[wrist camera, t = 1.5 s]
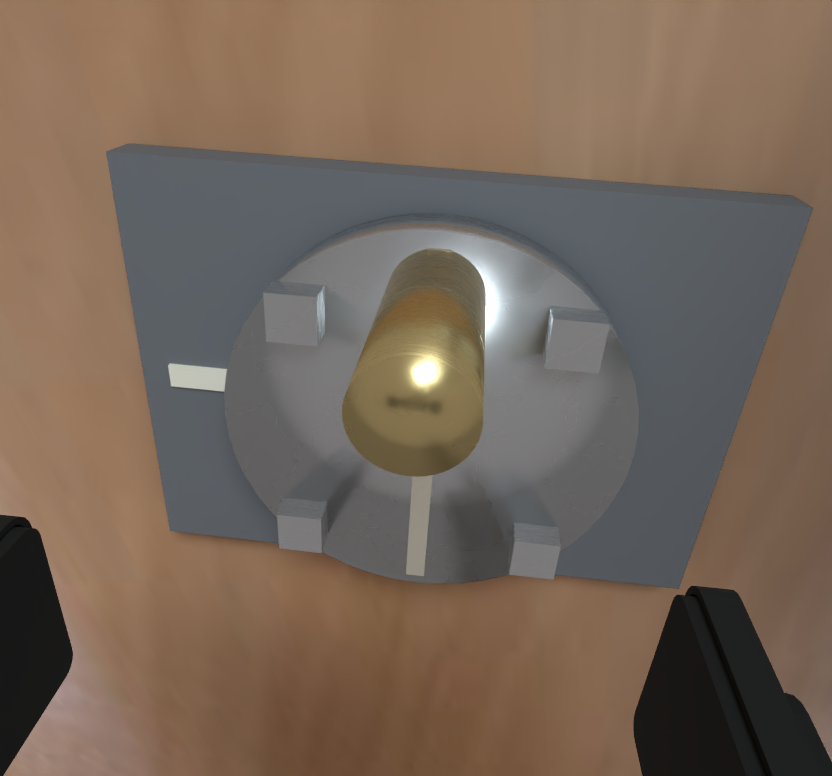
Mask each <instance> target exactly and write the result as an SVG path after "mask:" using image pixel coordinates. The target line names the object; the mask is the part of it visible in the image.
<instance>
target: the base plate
mask: <svg viewBox="0 0 832 776" xmlns="http://www.w3.org/2000/svg"><path fill="white" fill-rule="evenodd" d="M106 154H107V160H108V165H109V171H110V177H111V183H112V189H113V195H114V201H115V207H116V213H117V219H118V225H119V231H120V237H121V242H122V248H123V254H124V260H125V266H126V272H127V278H128V284H129V290H130V296H131V302H132V308H133V314H134V319H135V325H136V331H137V337H138V343H139V349H140V355H141V361H142V367H143V373H144V379H145V385H146V390H147V396H148V402H149V408H150V414H151V420H152V426H153V432H154V438H155V444H156V450H157V456H158V462H159V467H160V473H161V479H162V485H163V491H164V497H165V503H166V509H167V515H168V521H169V527H170V531H176V532H184V533H193V534H202V535H211V536H220V537H228V538H237V539H246V540H255V541H263V542H272V543H279V539H278V523H277V517H276V516H275V515H274V514H273V513H272V512H271V511H270V510H269V509H268V507H267V506H266V505H265V504H264V503H263V501H262V500H261V499H260V498H259V497H258V495H257V494H256V492H255V491H254V489H253V488H252V486H251V485H250V483H249V481H248V480H247V478H246V477H245V475H244V473H243V471H242V469H241V467H240V464H239V462H238V460H237V458H236V456H235V453H234V450H233V447H232V444H231V441H230V438H229V434H228V428H227V423H226V417H225V400H224V389H225V381H226V373H227V367H228V363H229V360H230V356H231V353H232V349H233V346H234V344H235V341H236V339H237V337H238V335H239V333H240V331H241V329H242V327H243V324H244V323H245V321H246V320H247V318H248V317H249V315H250V314H251V312H252V311H253V309H254V308H255V307H256V305H257V304H258V302H259V301H260V300H261V298H262V297H263V292H264V291H265V290H266V288H267V287H268V286H269V285H270V284H271V282H272V281H276V280H277V279H278V278H279V277H280V276H281V275H282V274H283V272H284V271H285V270H286V269H287V268H288V267H289V266H290V265H291V264H292V263H293V262H294V261H295V260H297V259H298V258H299V257H300V256H302V255H303V254H304V253H305V252H307V251H308V250H309V249H310V248H312V247H313V246H315V245H316V244H318V243H320V242H322V241H323V240H325V239H327V238H329V237H330V236H332V235H334V234H335V233H338V232H340V231H343V230H345V229H348V228H350V227H353V226H355V225H357V224H360V223H363V222H367V221H371V220H375V219H379V218H383V217H387V216H394V215H403V214H412V213H446V214H452V215H459V216H466V217H472V218H477V219H480V220H484V221H487V222H491V223H494V224H498V225H501V226H504V227H506V228H508V229H511V230H513V231H515V232H518V233H520V234H522V235H524V236H527V237H529V238H531V239H532V240H534V241H536V242H537V243H539V244H540V245H542V246H544V247H545V248H547V249H549V250H550V251H552V252H553V253H555V254H556V255H557V256H558V257H560V258H561V259H562V260H563V261H564V262H566V263H567V264H568V265H569V266H571V267H572V268H573V269H574V270H575V271H576V272H577V273H578V274H579V275H580V276H581V277H582V278H583V280H584V281H585V282H586V283H587V284H588V285H589V286H590V287H591V288H592V289H593V291H594V292H595V294H596V295H597V297H598V298H599V300H600V301H601V303H602V304H603V305H604V307H605V308H606V310H607V312H608V314H609V316H610V318H611V320H612V322H613V324H614V326H615V328H616V330H617V332H618V335H619V338H620V340H621V343H622V345H623V348H624V350H625V353H626V355H627V358H628V361H629V364H630V367H631V371H632V374H633V377H634V380H635V384H636V391H637V398H638V405H639V426H638V437H637V442H636V448H635V453H634V457H633V460H632V463H631V465H630V468H629V471H628V474H627V477H626V479H625V481H624V482H623V484H622V486H621V488H620V490H619V492H618V494H617V496H616V497H615V499H614V500H613V501H612V503H611V504H610V506H609V507H608V508H607V510H606V511H605V512H604V514H603V515H602V516H601V517H600V518H599V519H598V520H597V521H596V522H595V523H594V524H593V526H592V527H591V528H590V529H589V530H588V531H587V532H585V533H584V534H583V535H582V536H580V537H579V538H578V539H577V540H575V541H574V542H573V543H572V544H570V545H569V546H568V547H566V548H564V549H563V550H561V551H560V552H559V557H558V561H557V566H556V571H555V575H562V576H571V577H580V578H588V579H597V580H606V581H615V582H623V583H632V584H641V585H650V586H659V587H667V588H676V589H679V586H680V583H681V581H682V578H683V575H684V572H685V569H686V566H687V564H688V561H689V558H690V555H691V552H692V549H693V547H694V544H695V541H696V538H697V535H698V532H699V530H700V527H701V524H702V521H703V518H704V515H705V513H706V510H707V507H708V504H709V501H710V498H711V496H712V493H713V490H714V487H715V484H716V481H717V479H718V476H719V473H720V470H721V467H722V464H723V462H724V459H725V456H726V453H727V450H728V447H729V445H730V442H731V439H732V436H733V433H734V430H735V428H736V425H737V422H738V419H739V416H740V413H741V411H742V408H743V405H744V402H745V399H746V396H747V394H748V391H749V388H750V385H751V382H752V379H753V377H754V374H755V371H756V368H757V365H758V362H759V360H760V357H761V354H762V351H763V348H764V345H765V343H766V340H767V337H768V334H769V331H770V328H771V326H772V323H773V320H774V317H775V314H776V311H777V309H778V306H779V303H780V300H781V297H782V294H783V292H784V289H785V286H786V283H787V280H788V277H789V275H790V272H791V269H792V266H793V263H794V260H795V258H796V255H797V252H798V249H799V246H800V243H801V241H802V238H803V235H804V232H805V229H806V226H807V224H808V221H809V218H810V215H811V212H812V209H813V208H812V207H811V206H809V205H808V204H806V203H804V202H803V201H801V200H799V199H798V198H796V197H794V196H788V195H775V194H763V193H750V192H737V191H725V190H712V189H699V188H687V187H674V186H661V185H648V184H636V183H623V182H610V181H598V180H585V179H572V178H560V177H547V176H534V175H522V174H509V173H496V172H483V171H471V170H458V169H445V168H433V167H420V166H407V165H395V164H382V163H369V162H357V161H344V160H331V159H318V158H306V157H293V156H280V155H268V154H255V153H242V152H230V151H217V150H204V149H192V148H179V147H166V146H153V145H141V144H126V145H123V146H120V147H117V148H115V149H112V150H109V151H106Z"/></svg>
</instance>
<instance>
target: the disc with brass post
mask: <svg viewBox="0 0 832 776" xmlns="http://www.w3.org/2000/svg"><path fill="white" fill-rule="evenodd" d="M224 400H225V417H226V423H227V428H228V434H229V438H230V441H231V444H232V447H233V450H234V453H235V456H236V458H237V460H238V462H239V464H240V467H241V469H242V471H243V473H244V475H245V477H246V478H247V480H248V481H249V483H250V485H251V486H252V488H253V489H254V491H255V492H256V494H257V495H258V497H259V498H260V499H261V500H262V501H263V503H264V504H265V505H266V506H267V507H268V509H269V510H270V511H271V512H272V513H273V514H274V515H275V516H276V517H277V523H278V539H279V548H280V549H289V550H298V551H306V552H315V553H322V552H323V553H325V554H327V555H329V556H331V557H333V558H335V559H337V560H339V561H341V562H343V563H345V564H347V565H350V566H353V567H355V568H358V569H361V570H364V571H366V572H369V573H373V574H377V575H380V576H384V577H388V578H392V579H398V580H404V581H410V582H419V583H434V584H448V583H466V582H474V581H482V580H487V579H492V578H496V577H500V576H505V575H508V574H509V575H516V576H525V577H534V578H543V579H551V580H554V575H555V571H556V566H557V561H558V557H559V552H560V551H561V550H563V549H564V548H566V547H568V546H569V545H570V544H572V543H573V542H574V541H575V540H577V539H578V538H579V537H580V536H582V535H583V534H584V533H585V532H587V531H588V530H589V529H590V528H591V527H592V526H593V524H594V523H595V522H596V521H597V520H598V519H599V518H600V517H601V516H602V515H603V514H604V512H605V511H606V510H607V508H608V507H609V506H610V504H611V503H612V501H613V500H614V499H615V497H616V496H617V494H618V492H619V490H620V488H621V486H622V484H623V482H624V481H625V479H626V477H627V474H628V471H629V468H630V465H631V463H632V460H633V457H634V453H635V448H636V442H637V437H638V426H639V405H638V398H637V391H636V384H635V380H634V377H633V374H632V371H631V367H630V364H629V361H628V358H627V355H626V353H625V350H624V348H623V345H622V343H621V340H620V338H619V335H618V332H617V330H616V328H615V326H614V324H613V322H612V320H611V318H610V316H609V314H608V312H607V310H606V308H605V307H604V305H603V304H602V303H601V301H600V300H599V298H598V297H597V295H596V294H595V292H594V291H593V289H592V288H591V287H590V286H589V285H588V284H587V283H586V282H585V281H584V280H583V278H582V277H581V276H580V275H579V274H578V273H577V272H576V271H575V270H574V269H573V268H572V267H571V266H569V265H568V264H567V263H566V262H564V261H563V260H562V259H561V258H560V257H558V256H557V255H556V254H555V253H553V252H552V251H550V250H549V249H547V248H545V247H544V246H542V245H540V244H539V243H537V242H536V241H534V240H532V239H531V238H529V237H527V236H524V235H522V234H520V233H518V232H515V231H513V230H511V229H508V228H506V227H504V226H501V225H498V224H494V223H491V222H487V221H484V220H480V219H477V218H472V217H466V216H459V215H452V214H446V213H412V214H403V215H394V216H387V217H383V218H379V219H375V220H371V221H367V222H363V223H360V224H357V225H355V226H353V227H350V228H348V229H345V230H343V231H340V232H338V233H335V234H334V235H332V236H330V237H329V238H327V239H325V240H323V241H322V242H320V243H318V244H316V245H315V246H313V247H312V248H310V249H309V250H308V251H307V252H305V253H304V254H303V255H302V256H300V257H299V258H298V259H297V260H295V261H294V262H293V263H292V264H291V265H290V266H289V267H288V268H287V269H286V270H285V271H284V272H283V274H282V275H281V276H280V277H279V278H278V279H277V280H276V281H272V282H271V284H270V285H269V286H268V287H267V288H266V290H265V291H264V292H263V297H262V298H261V300H260V301H259V302H258V304H257V305H256V307H255V308H254V309H253V311H252V312H251V314H250V315H249V317H248V318H247V320H246V321H245V323H244V324H243V327H242V329H241V331H240V333H239V335H238V337H237V339H236V341H235V344H234V346H233V349H232V353H231V356H230V360H229V363H228V367H227V373H226V381H225V389H224Z"/></svg>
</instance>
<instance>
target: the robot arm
mask: <svg viewBox="0 0 832 776" xmlns="http://www.w3.org/2000/svg"><path fill="white" fill-rule="evenodd" d="M72 657H73V651H72V646H71V643H70V639H69V636H68V632H67V629H66V625H65V621H64V618H63V614H62V611H61V607H60V603H59V600H58V596H57V593H56V589H55V585H54V582H53V578H52V575H51V571H50V568H49V564H48V560H47V557H46V553H45V550H44V546H43V542H42V539H41V535H40V533H39V531H38V530H36V529H34V528H32V526H31V524H30V522H29V521H28V520H27V519H26V518H24V517H16V516H6V515H0V776H3V775H4V773H5V772H6V770H7V769H8V767H9V766H10V764H11V762H12V761H13V759H14V758H15V756H16V755H17V753H18V751H19V750H20V748H21V747H22V745H23V744H24V742H25V740H26V739H27V737H28V736H29V734H30V733H31V731H32V729H33V728H34V726H35V725H36V723H37V722H38V720H39V718H40V717H41V715H42V714H43V712H44V711H45V709H46V707H47V706H48V704H49V703H50V701H51V700H52V698H53V696H54V695H55V693H56V692H57V690H58V689H59V687H60V685H61V684H62V682H63V681H64V679H65V678H66V676H67V674H68V672H69V669H70V667H71V663H72ZM634 738H635V743H636V748H637V753H638V757H639V762H640V766H641V771H642V775H643V776H832V762H831V760H830V758H829V756H828V754H827V752H826V749H825V747H824V745H823V743H822V741H821V739H820V737H819V735H818V733H817V731H816V729H815V727H814V724H813V722H812V720H811V718H810V716H809V714H808V713H807V711H806V709H805V708H804V706H803V704H802V703H801V702H800V701H799V700H798V699H797V698H796V697H795V696H793V695H790V694H787V693H784V692H783V689H782V687H781V685H780V683H779V681H778V679H777V676H776V674H775V672H774V670H773V668H772V665H771V663H770V661H769V659H768V657H767V655H766V652H765V650H764V648H763V646H762V644H761V642H760V639H759V637H758V635H757V633H756V631H755V628H754V626H753V624H752V622H751V620H750V618H749V615H748V613H747V611H746V609H745V607H744V604H743V602H742V600H741V598H740V597H739V595H738V593H737V592H735V591H734V590H728V589H719V588H709V587H699V586H691V587H690V588H689V589H688V590H687V593H686V595H685V596H684V595H676V596H675V597H674V599H673V602H672V605H671V608H670V611H669V614H668V617H667V620H666V622H665V625H664V628H663V631H662V634H661V637H660V640H659V643H658V646H657V649H656V652H655V655H654V658H653V661H652V664H651V667H650V670H649V673H648V676H647V679H646V682H645V685H644V688H643V691H642V693H641V696H640V699H639V702H638V705H637V708H636V711H635V715H634Z"/></svg>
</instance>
